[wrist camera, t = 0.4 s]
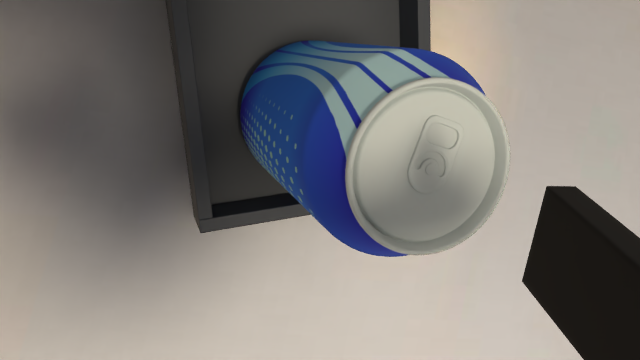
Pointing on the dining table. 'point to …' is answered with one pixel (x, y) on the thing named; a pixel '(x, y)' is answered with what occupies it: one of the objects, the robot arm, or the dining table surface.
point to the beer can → (378, 143)
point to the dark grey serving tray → (234, 73)
